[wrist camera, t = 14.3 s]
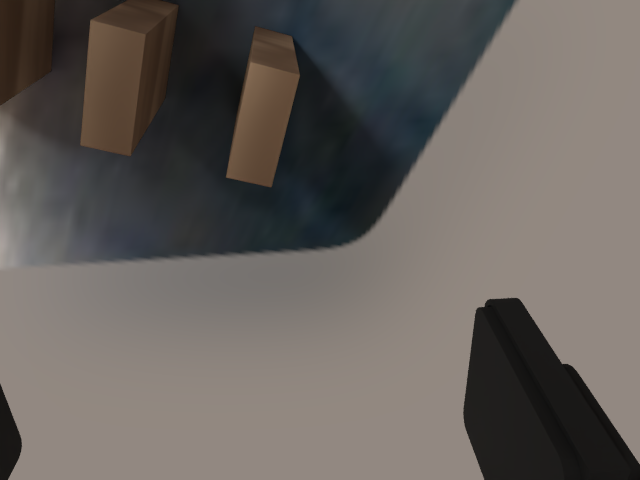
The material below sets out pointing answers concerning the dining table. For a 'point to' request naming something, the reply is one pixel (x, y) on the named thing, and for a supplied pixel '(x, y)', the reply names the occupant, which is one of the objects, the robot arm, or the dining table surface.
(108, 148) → the domino
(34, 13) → the domino
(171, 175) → the dining table surface
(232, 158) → the end domino
